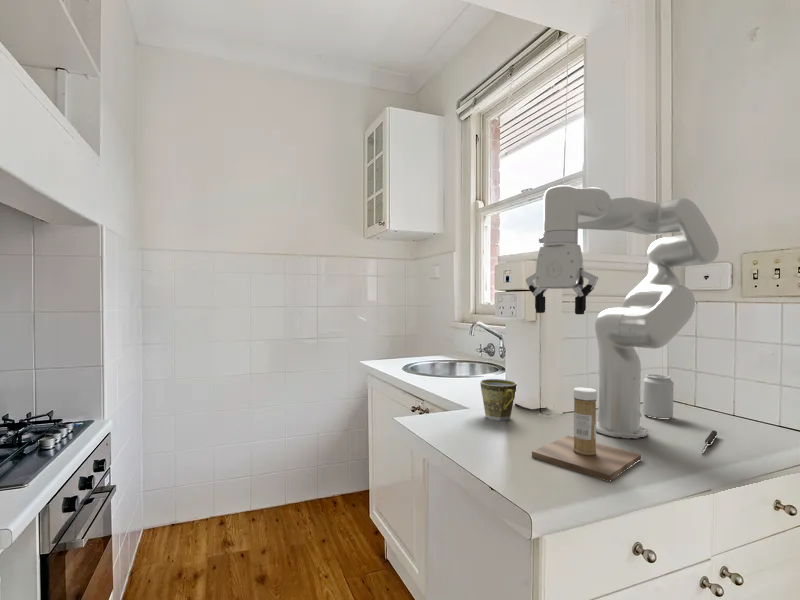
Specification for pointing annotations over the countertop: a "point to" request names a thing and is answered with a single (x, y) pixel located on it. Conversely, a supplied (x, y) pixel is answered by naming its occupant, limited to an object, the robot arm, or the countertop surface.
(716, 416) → the countertop surface
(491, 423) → the countertop surface
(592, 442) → the sprinkles bottle
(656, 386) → the can
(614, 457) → the walnut board
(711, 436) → the kitchen knife
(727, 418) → the countertop surface
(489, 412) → the ceramic cup
